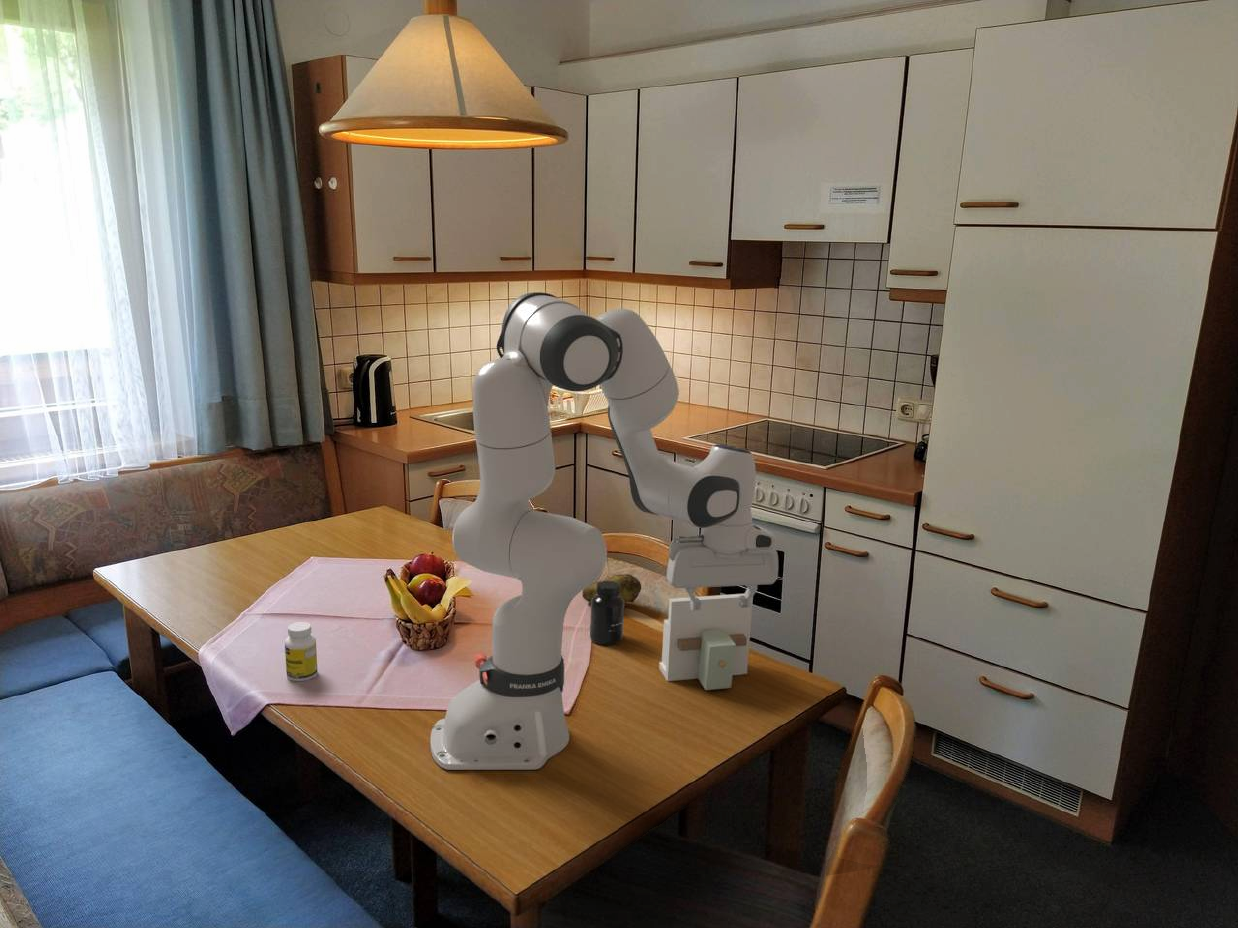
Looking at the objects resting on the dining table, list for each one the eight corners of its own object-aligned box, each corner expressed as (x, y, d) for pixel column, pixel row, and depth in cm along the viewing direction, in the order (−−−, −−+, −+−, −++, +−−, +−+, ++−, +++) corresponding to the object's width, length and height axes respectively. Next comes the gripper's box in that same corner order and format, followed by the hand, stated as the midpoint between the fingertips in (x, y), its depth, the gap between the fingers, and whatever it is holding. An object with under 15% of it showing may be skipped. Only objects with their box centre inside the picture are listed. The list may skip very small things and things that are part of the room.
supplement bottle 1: (280, 677, 164) (277, 627, 162) (303, 665, 169) (300, 617, 166) (301, 684, 162) (298, 635, 159) (324, 673, 166) (321, 624, 164)
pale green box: (707, 692, 163) (711, 649, 160) (695, 673, 169) (699, 630, 166) (732, 690, 164) (737, 646, 162) (720, 670, 170) (724, 628, 168)
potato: (600, 593, 208) (601, 560, 206) (645, 607, 201) (647, 574, 199) (577, 603, 202) (578, 570, 200) (624, 619, 195) (625, 585, 193)
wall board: (670, 686, 166) (675, 606, 162) (658, 667, 173) (663, 590, 169) (750, 678, 170) (757, 600, 166) (736, 660, 177) (741, 585, 173)
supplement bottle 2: (619, 648, 181) (621, 592, 178) (586, 643, 182) (587, 588, 179) (625, 633, 187) (627, 580, 185) (593, 630, 189) (595, 576, 186)
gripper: (675, 541, 153) (670, 617, 156) (785, 538, 158) (778, 611, 161) (664, 530, 159) (659, 604, 162) (770, 527, 164) (763, 598, 167)
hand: (719, 607), depth 162 cm, fingers open, 8 cm apart
